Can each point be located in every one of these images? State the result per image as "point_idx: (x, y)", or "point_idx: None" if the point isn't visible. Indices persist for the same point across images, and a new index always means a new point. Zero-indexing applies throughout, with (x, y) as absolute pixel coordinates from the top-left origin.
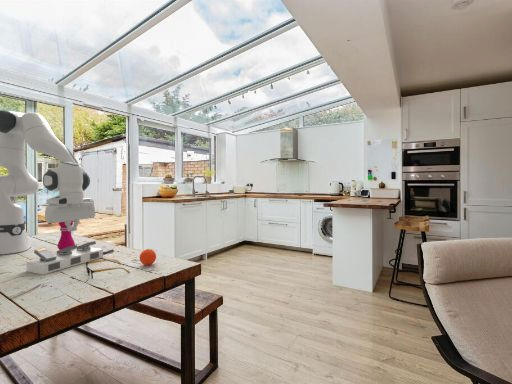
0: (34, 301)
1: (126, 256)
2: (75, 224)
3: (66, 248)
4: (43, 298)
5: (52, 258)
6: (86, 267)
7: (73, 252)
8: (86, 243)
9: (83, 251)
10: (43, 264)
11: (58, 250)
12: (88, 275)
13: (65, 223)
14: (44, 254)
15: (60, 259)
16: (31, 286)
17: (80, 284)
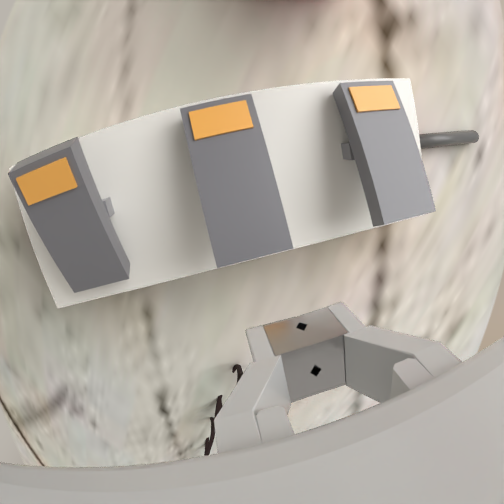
0: (63, 465)
1: (444, 273)
2: (374, 382)
3: (210, 238)
4: (77, 466)
5: (105, 280)
6: (211, 430)
7: (286, 142)
8: (378, 208)
9: (339, 173)
10: (63, 306)
11: (190, 119)
12: (210, 418)
13: (220, 435)
14: (62, 246)
15: (151, 277)
16: (43, 386)
17: (163, 457)
